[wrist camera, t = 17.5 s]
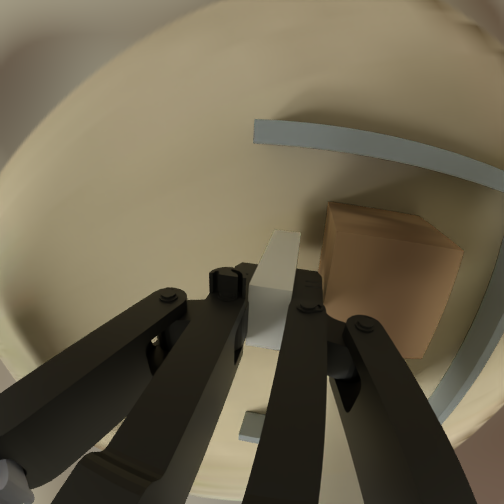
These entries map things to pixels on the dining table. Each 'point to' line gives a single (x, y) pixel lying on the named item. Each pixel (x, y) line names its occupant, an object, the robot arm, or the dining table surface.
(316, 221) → the dining table surface
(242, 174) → the dining table surface
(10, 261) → the dining table surface
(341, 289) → the walnut block
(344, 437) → the foam cup
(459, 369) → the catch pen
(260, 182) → the dining table surface
